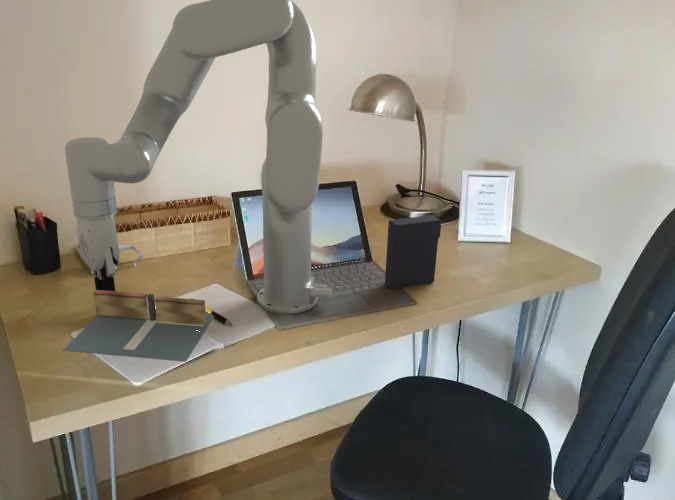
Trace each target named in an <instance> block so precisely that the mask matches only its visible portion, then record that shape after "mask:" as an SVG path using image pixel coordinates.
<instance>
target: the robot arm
mask: <svg viewBox="0 0 675 500" xmlns="http://www.w3.org/2000/svg"><path fill="white" fill-rule="evenodd" d="M264 44H265V45H266V47H267V53H268V88H267V103H266V110H265V114H264V115H265V117H264V118H265V119H264V120H265V121H264V122H265V126H266V152H265V153H266V157H265V159H264V161H263V163H262V166H261V178H260V179H261V180H260V181H261V197H262V199H261V200H262V225H263V226H262V227H263V228H262V235H263V236H262V240H263V241H262V245H263V247H262V248H263V249H262V251H263V288H261V289H260V290H259V291H258V292H257V294H256V302H257V305H259V307H260V308H261V309H264V310H265V311H269V312H272V313H277V314H300V313H304V312H307V311H309V310H311V309H313V308H314V307H315V306H317V304H318V302H319V298H322V299H332V295H333V289H332V288H328V284H323V283H322V284H317V282H315V276H312V275H311V274H312V273H311V272H312V270H311V269H312V228H313V227H312V217H313V215H312V209H313V208H312V204H313V202H314V201H315V200H316V197H317V194H318V192H319V191H318V190H319V186H320V184H319V183H320V173H321V163H322V150H323V139H324V138H323V131H324V130H323V120H322V116H321V113H320V111H319V110H318V108H317V106H316V87H317V86H316V84H317V83H316V82H317V47H316V41H315V37H314V33H313V30H312V27H311V25H310V23H309V21H308V19H307V17H306V16H305V14H304V13H303V11H302V9H300V7H299V6H298V5H297V4H296V3H295V2H294V1H293V0H206V1H203V2H198V3H197V2H196V3H191V4H188V5H187V6H184V7H183V8H181V9H180V10H179V11H178V12H177V14H176V15H175V17H174V19H173V22H172V27H171V30H170V32H169V33H168V35H167V37H166V39H165V41H164V43H163V45H162V47H161V49H160V50H159V53H158V55H157V57H156V59H155V60H154V62H153V64H152V66H151V67H150V69H149V72H148V73H147V75H146V78H145V81H144V83H143V88H142V89H143V90H142V91H143V92H142V93H141V98H140V100H139V101H138V104H137V106H136V109H135V110H134V113H133V114H132V116H131V118H130V120H129V123H127V126H126V128H125V130H124V132H123V134H122V135H121V136H120V139H119V140H118V141H117V142H114V143H108V141H107V140H105V139H103V138H100V137H92V136H91V137H89V136H87V137H79V138H78V137H77V138H73V139H71V140H69V141H68V142H67V143H66V144H65V147H64V152H65V154H64V155H65V161H66V169H67V175H68V183H69V188H70V195H71V197H70V198H71V203H72V212H73V216H74V217H75V218H76V230H77V232H76V233H77V242H78V251H79V253H78V254H79V256H80V257H81V259H82V261H83V262H85V264H87V265H88V267H90V269H92V273H93V276H94V279H93V280H94V285H95V291H96V290H105V291H116V285H115V276H116V270H115V267H118V266H120V263H121V255H120V254H121V252H119V239H118V233H117V228H116V227H117V226H116V221H115V218H114V216H116V214H117V213H118V208H117V206H118V205H117V199H116V197H117V196H116V191H115V183H121V184H137V183H141V182H143V181H144V180H146V179H147V178H148V177H150V175H151V173H152V171H153V169H154V165H155V164H156V161H157V160H158V158H159V156H160V154H161V152H162V149H163V148H164V145H165V144H166V142H167V140H168V138H169V137H170V135H171V133H172V131H173V129H174V128H175V126H176V124H177V123H178V122H179V119H180V118H181V116H182V115H183V114H184V113H185V112H186V111H187V110H188V109H189V107H190V105H191V103H192V102H193V101H194V98H195V96H196V95H197V93H198V91H199V90H200V87H201V85H202V83H203V82H204V80H205V78H206V76H207V75H208V72H209V70H210V68H211V67H212V65H213V63H214V61H215V60H216V58H219V57H222V56H226V55H231V54H233V53H236V52H240V51H244V50H247V49H250V48H253V47H257V46H261V45H264Z"/></svg>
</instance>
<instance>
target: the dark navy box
mask: <svg viewBox="0 0 675 500" xmlns="http://www.w3.org/2000/svg"><path fill="white" fill-rule="evenodd" d="M387 227H388V228H387V242H386V244H387V245H386V260H385V273H384V275H385V276H384V284H385V285H386V286H387V287H388V288H390V289H391V290H394V289H400V288H407V287H413V286H419V285H424V284H425V285H426V284H430V283H434V281H435V276H436V266H437V265H436V264H437V255H438V253H437V252H438V247H439V245H438V244H439V239H440V237H441V231H442V230H441V229H442V220H441V219H439V218H437V217H436V216H434V215H433V214H431V215H423V216H422V215H421V216H415V217H414V216H413V217H406V218H405V217H404V218H396V219H390V220H389V221H388V226H387Z"/></svg>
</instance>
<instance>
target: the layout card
mask: <svg viewBox="0 0 675 500" xmlns="http://www.w3.org/2000/svg"><path fill="white" fill-rule="evenodd" d="M148 308H149V305H148ZM215 312H216V314H218V311H215ZM214 318H215V316H213V315H212V314H211V313H208V312H206V324H205V325H196V324H184V323H172V322H160V321H157V315H156V320H155V321H151V320H150V315H149V317H148V318H147V319H142V318H130V317H118V316H106V315H96V317H94V319H93V320H92V321H91V322H90V323H89V324H88V325H87V326H86V327H84V328H83V329H82V330H81V332H80V333H78V335H76V336H75V337H74V338H73V340H72V341H70V343H68V344H67V345H66V346H65V347H64V349H62V351H64V352H75V353H76V352H77V353H86V354H98V355H108V356H110V355H111V356H117V357H118V356H120V357H131V358H141V359H155V360H165V361H174V362H175V361H176V362H187V360H188V359H189V358H190V356H191V354H192V352H193V351H194V349H195V348H196V347H197V345H198V343H199V342H200V341H201V338H202V337H203V335H204V334H205V332H206V331H207V329H208V327H209V326H210V324H211V323H212V321H213V320H214ZM196 330H198V331H196ZM199 331H200V332H199Z"/></svg>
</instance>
